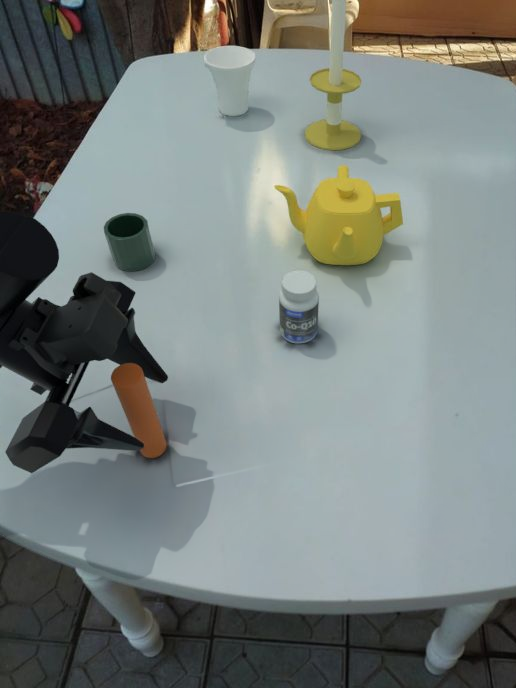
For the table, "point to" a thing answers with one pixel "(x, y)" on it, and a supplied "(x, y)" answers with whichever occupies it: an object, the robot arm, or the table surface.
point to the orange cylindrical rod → (139, 408)
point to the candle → (335, 91)
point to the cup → (231, 77)
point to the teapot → (344, 219)
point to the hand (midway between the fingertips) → (154, 412)
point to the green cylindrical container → (129, 241)
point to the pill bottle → (298, 307)
